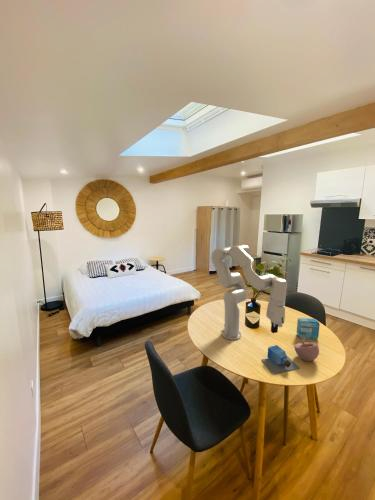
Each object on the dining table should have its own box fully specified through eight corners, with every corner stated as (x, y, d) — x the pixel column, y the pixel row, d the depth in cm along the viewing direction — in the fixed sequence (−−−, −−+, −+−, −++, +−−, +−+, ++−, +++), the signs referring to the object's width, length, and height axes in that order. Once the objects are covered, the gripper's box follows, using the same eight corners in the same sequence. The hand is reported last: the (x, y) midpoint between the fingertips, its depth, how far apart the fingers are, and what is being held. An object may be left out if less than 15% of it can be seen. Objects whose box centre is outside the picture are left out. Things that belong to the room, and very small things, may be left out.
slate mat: (261, 360, 125) (261, 359, 125) (286, 355, 129) (286, 354, 129) (273, 374, 115) (273, 373, 115) (299, 368, 119) (299, 367, 118)
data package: (298, 337, 146) (299, 321, 144) (296, 334, 151) (297, 317, 149) (318, 339, 145) (320, 322, 142) (315, 335, 149) (317, 318, 147)
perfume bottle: (268, 347, 126) (284, 360, 115) (276, 345, 128) (293, 357, 117) (267, 357, 127) (283, 371, 116) (276, 354, 129) (292, 368, 118)
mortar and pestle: (302, 349, 134) (304, 332, 132) (322, 361, 124) (324, 342, 122) (289, 355, 129) (290, 337, 127) (308, 368, 118) (310, 349, 116)
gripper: (263, 296, 126) (260, 325, 130) (280, 308, 111) (276, 341, 115) (274, 294, 127) (271, 324, 131) (293, 306, 113) (289, 339, 117)
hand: (274, 332), depth 123 cm, fingers closed
